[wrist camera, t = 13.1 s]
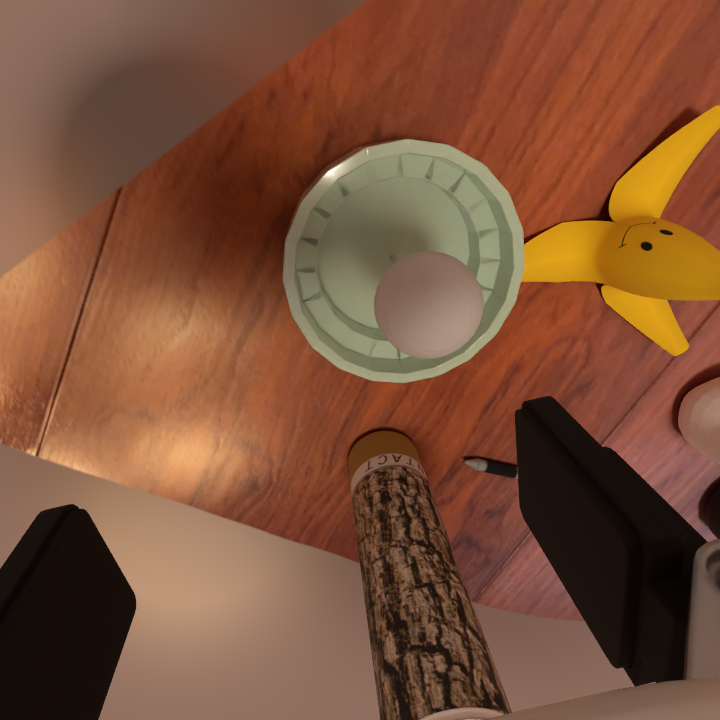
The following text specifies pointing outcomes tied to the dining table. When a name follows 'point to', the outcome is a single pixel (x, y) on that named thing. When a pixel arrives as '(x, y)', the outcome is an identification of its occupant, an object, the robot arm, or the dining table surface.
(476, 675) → the paper tube
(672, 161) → the banana peel
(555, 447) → the robot arm
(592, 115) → the dining table surface
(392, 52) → the dining table surface
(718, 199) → the dining table surface
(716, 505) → the mug
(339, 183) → the bowl
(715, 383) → the cat figurine
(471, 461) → the pen
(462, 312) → the lollipop
